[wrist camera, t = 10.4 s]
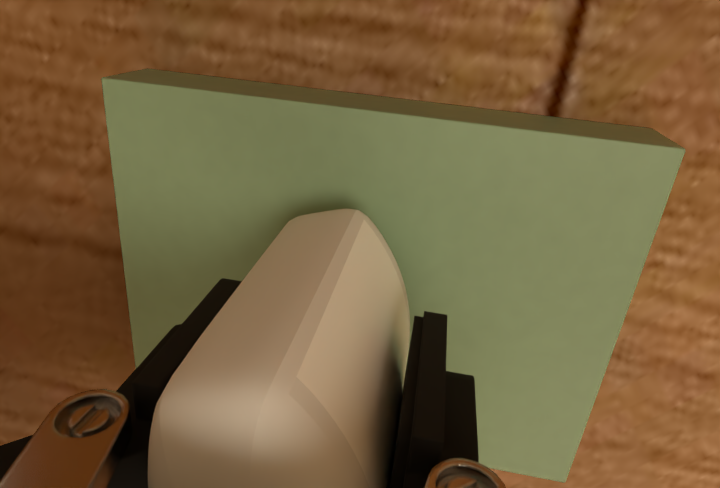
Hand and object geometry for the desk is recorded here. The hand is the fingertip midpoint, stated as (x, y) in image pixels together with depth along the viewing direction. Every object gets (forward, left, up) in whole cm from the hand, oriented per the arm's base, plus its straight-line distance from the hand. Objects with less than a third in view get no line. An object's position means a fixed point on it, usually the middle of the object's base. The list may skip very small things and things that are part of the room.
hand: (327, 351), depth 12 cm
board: (+1, 0, -7) cm, 7 cm away
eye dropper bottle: (0, 0, -3) cm, 3 cm away
